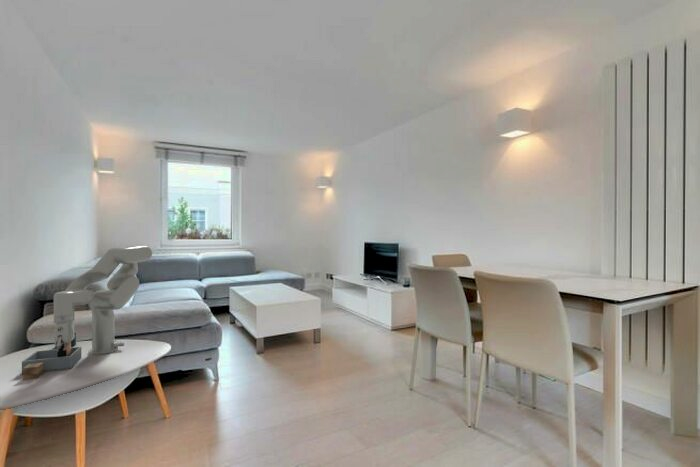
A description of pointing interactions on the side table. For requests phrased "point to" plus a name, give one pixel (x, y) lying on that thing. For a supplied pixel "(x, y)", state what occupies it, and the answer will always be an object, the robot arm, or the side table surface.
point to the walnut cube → (32, 371)
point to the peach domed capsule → (68, 349)
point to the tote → (53, 359)
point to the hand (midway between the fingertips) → (64, 356)
